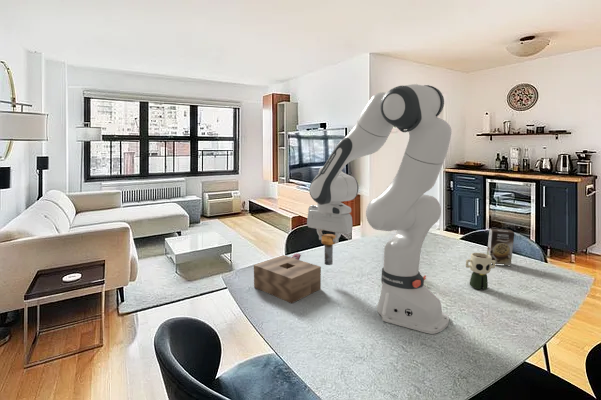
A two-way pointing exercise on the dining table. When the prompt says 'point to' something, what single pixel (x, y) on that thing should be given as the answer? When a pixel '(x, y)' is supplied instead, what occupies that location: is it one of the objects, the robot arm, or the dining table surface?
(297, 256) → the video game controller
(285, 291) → the walnut block
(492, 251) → the coffee box
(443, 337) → the dining table surface
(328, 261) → the steel pin
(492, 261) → the character mug
